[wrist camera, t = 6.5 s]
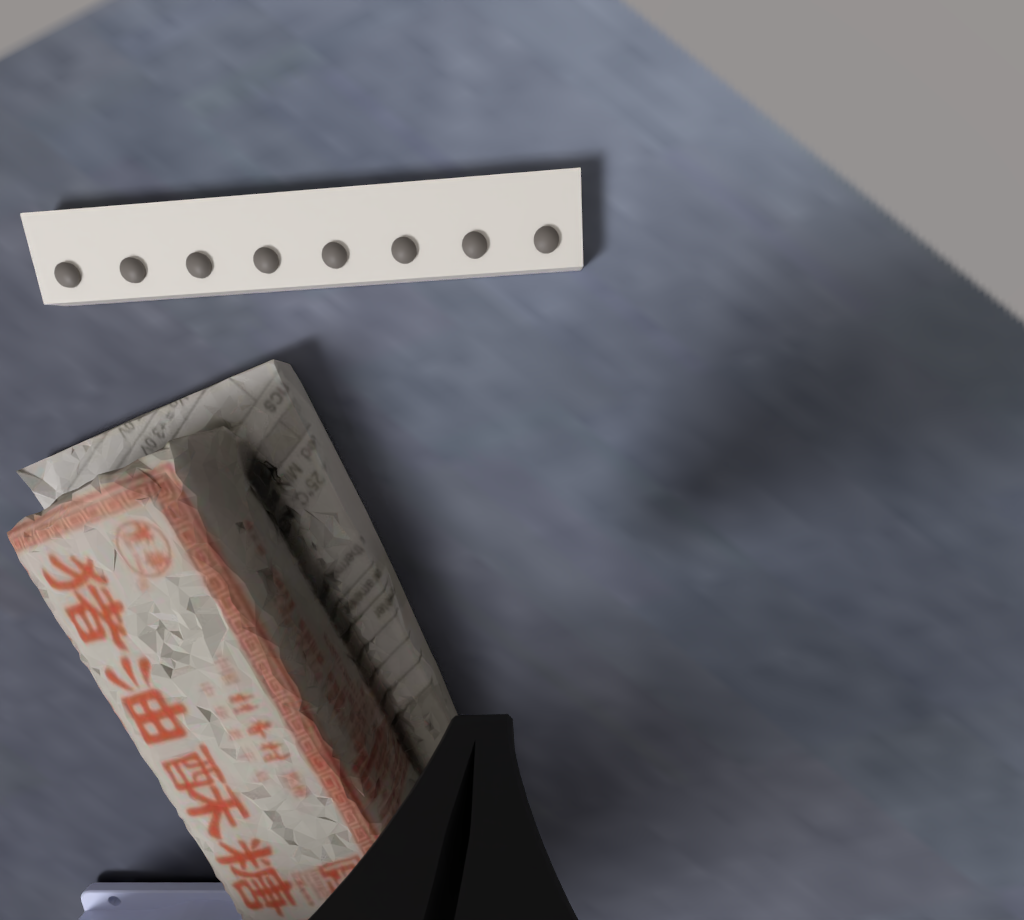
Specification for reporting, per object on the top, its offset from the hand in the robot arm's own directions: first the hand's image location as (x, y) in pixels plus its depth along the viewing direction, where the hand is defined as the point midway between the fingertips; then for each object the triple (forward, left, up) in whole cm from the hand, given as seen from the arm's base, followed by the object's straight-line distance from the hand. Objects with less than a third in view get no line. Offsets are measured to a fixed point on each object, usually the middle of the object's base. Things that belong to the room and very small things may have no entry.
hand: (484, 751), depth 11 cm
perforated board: (-5, +12, -6) cm, 15 cm away
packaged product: (-8, -1, -7) cm, 11 cm away
